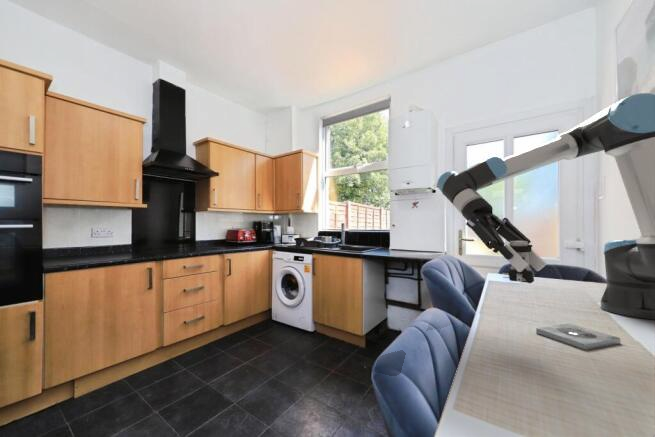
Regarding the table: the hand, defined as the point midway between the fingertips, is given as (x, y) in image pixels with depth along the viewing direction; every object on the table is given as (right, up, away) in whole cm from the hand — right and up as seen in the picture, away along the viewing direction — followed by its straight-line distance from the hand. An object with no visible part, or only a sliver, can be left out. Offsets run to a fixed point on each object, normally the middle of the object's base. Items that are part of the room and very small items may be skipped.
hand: (532, 267), depth 61 cm
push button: (-1, -4, +4) cm, 6 cm away
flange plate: (+11, -17, +1) cm, 21 cm away
